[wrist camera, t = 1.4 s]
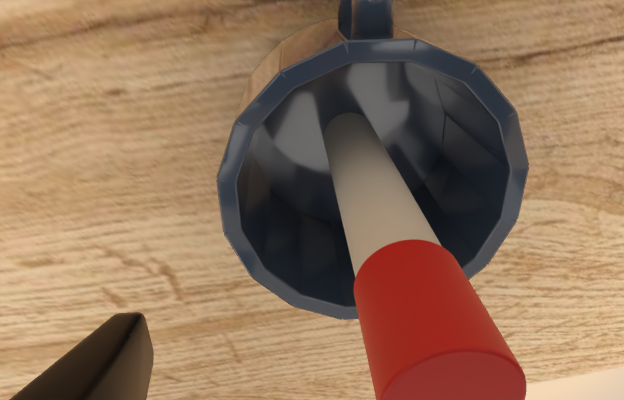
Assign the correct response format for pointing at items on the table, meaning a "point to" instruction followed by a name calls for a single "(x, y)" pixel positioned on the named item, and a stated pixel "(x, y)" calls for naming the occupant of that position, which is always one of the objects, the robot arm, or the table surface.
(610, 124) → the table surface
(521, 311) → the table surface
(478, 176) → the mug
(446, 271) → the marker
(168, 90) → the table surface
